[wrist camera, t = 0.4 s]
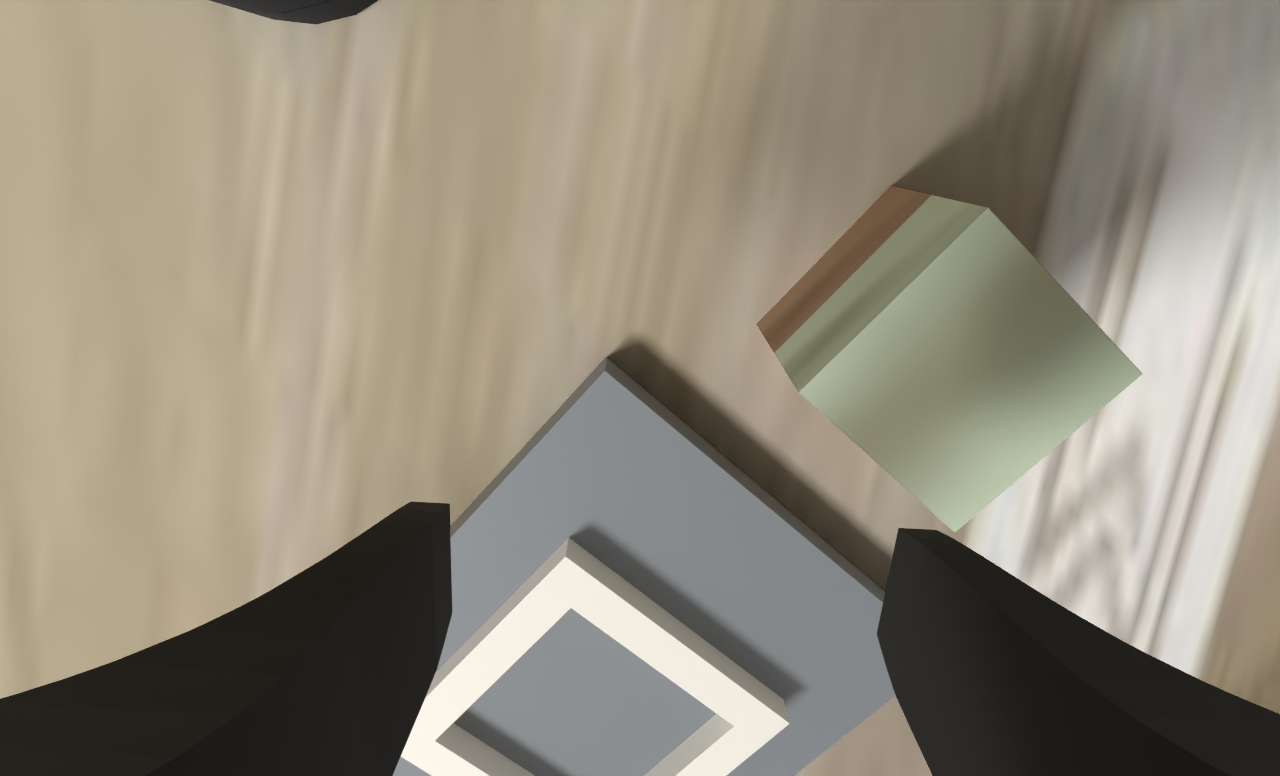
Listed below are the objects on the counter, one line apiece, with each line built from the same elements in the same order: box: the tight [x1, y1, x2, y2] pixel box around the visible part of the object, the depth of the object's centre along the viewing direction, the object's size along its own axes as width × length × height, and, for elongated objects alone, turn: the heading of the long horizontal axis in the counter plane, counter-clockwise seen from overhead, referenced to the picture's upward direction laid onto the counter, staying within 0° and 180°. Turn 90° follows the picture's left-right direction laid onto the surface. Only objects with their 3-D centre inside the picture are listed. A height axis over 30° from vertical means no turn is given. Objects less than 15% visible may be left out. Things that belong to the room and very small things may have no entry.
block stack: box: [757, 186, 1143, 532], centre depth 18 cm, size 5×5×6 cm
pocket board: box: [393, 357, 896, 776], centre depth 23 cm, size 14×18×2 cm
